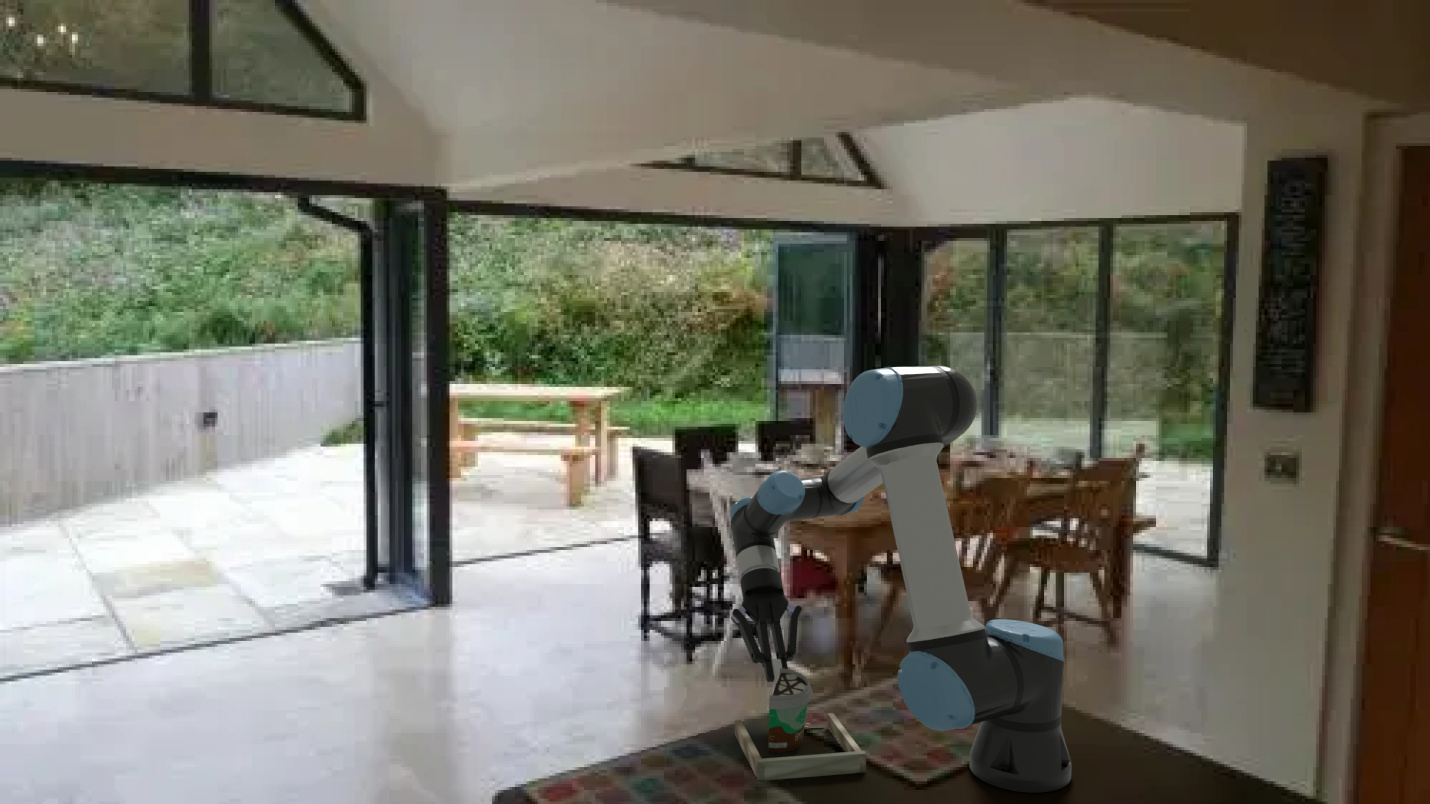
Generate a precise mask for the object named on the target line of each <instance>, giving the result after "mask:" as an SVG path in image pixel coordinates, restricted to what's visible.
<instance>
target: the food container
mask: <svg viewBox="0 0 1430 804" xmlns="http://www.w3.org/2000/svg"><path fill="white" fill-rule="evenodd" d="M810 683H811V682H810V681H809V679H808V678H807V676H805V675H804V674H802V673H800V672H797V671H795V670H791V669H789V668H788V669H783V668H780V676H779V679H778V681H777V683H776V686H775V689H773V693H772V694H770V695H769V700H768V701H769V702H768V712H769V713H768V715H769V717H768V719H769V720H768V747H767V748H768V749H767V751H768V752H769V753H785V752H790V751H794V750H796V749H798V748H800V747H801V746H802V745H803V742H804V741H803V740H804V734H805V733H804V732H805V730H804V727H805V718H807V717H806V716H807V710H808V709H807V707H808V703H809V702H811V700H812V698H813V692H812V686H811V684H810Z"/></svg>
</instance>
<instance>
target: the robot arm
mask: <svg viewBox="0 0 1430 804" xmlns="http://www.w3.org/2000/svg"><path fill="white" fill-rule="evenodd" d="M977 399H978V398H977V394H976V392H975V389H974V386H972V384H971V382H970V381H969V380H968V378H967V377H966V376H965V375H964V374H962V373H961V372H960V371H958V370H956V369H954V368H951V367H949V366H945V365H929V366H895V367H894V366H893V367H892V366H885V367H883V368H882V367H881V368H876V369H870V370H866V371H863V372H862V373H860V374H859V375H858V376H857V377H856V378H855V379H854V380H853V381H852V382H851V384H850V386H849V387H848V391H847V393H846V395H845V398H844V403H843V408H842V409H843V412H842V413H843V415H842V417H843V418H842V419H843V424H844V428H845V431H846V434H847V436H848V437H849V438H850V439H852V442H853V443H854V444H856V445H857V446H859V448H857V449H855V451H854V452H852V453H851V454H849V455H848V456H847V457H846V458H844V459H843V460H841V461H840V462H839V463H838V464H836V466H834V467H833V468H832V469H831V470H829V471H828V472H826V473H825V474H824V475H821V476H813V477H803V478H799V476H797V475H796V474H794V473H792V472H788V471H786V470H777V471H774V472H772V473H771V474H770V475H768V477H767V478H766V480H764V481H763V482H762V483H761V484H760V486H759V487H758V489H757V490H756V492H755V494H754V495H753V496H748V497H747V496H746V497H744V498H741V499H739V501H736V502H734V503H733V504H732V505H731V507H730V509H729V517H730V520H729V521H730V522H729V524H730V525H729V526H730V530H731V534H732V535H731V536H732V539H733V541H732V542H733V545H734V551H735V558H736V562H737V570H738V576H739V577H738V578H739V579H740V580H739V583H740V589H741V590H740V591H741V595H742V603H741V606H740V607H738V608H734V609H733V610H732V613H731V615H730V620H731V621H732V622H733V624H735V625H736V626H737V628H738V629H739V630H738V631H739V632H740V636H741V637H742V639H743V643H744V644H745V645H744V646H746V649H747V651H748V653H749V655H750V659H751V661H752V663H754V664H758V663H759V664H761V666H762V668H764V674H765V680H766V681H767V683H772V688H773V690H774V689H775V686H776V683H777V681H778V679H779V676H780V668H783V669H789V666H788V662H792V661H793V660H794V659H795V656H796V652H797V640H798V639H797V637H798V624H799V623H798V622H799V617H800V616H801V613H802V610H803V608H802V606H801V605H796V606H795V605H792V604H790V603H789V602H790V601H789V600H788V598H787V597H786V596H785V590H784V586H783V579H782V574H781V573H780V572H781V570H780V565H779V560H778V559H779V558H778V555H777V549H776V544H775V535H776V534H777V533H778V532H779V531H780V530H781V528H782V527H784V525H785V524H786V523H788V522H795V521H802V520H810V519H817V518H826V517H833V516H844V515H848V514H850V513H851V514H852V513H855V512H858V511H859V510H860V508H861V507H862V504H863V503H864V500H865V496H866V495H868V494H869V493H871V492H872V491H874V490H876V488H878V487H879V486H880V485H882V484H883V488H884V492H885V498H886V502H887V506H888V512H889V515H890V516H889V517H890V521H891V524H892V525H891V526H892V530H893V536H894V539H895V544H896V548H897V553H898V559H899V563H900V567H901V572H902V573H901V574H902V577H903V582H904V587H905V591H906V596H907V600H908V604H909V609H910V614H911V619H912V624H913V627H912V631H911V632H910V633H909V635H908V636H907V638H906V643H907V645H906V646H907V649H908V650H907V651H908V654H906V656H904V657H903V659H901V661H900V664H899V668H900V669H898V670H897V671H898V672H897V683H898V688H899V691H900V694H901V697H902V701H903V703H904V704H905V706H906V707H907V709H908V710H909V712H910V713H911V714H912V716H913V717H914V718H917V720H918V722H919V723H920V724H922V725H924V726H925V727H926V728H929V729H931V730H933V731H939V732H946V731H952V730H958V729H959V730H964V729H966V728H968V727H970V726H971V725H975V724H978V723H979V724H980V725H979V727H978V730H977V731H976V732H977V733H976V735H975V737H974V739H973V743H972V746H971V748H970V751H969V769H970V771H971V772H972V774H973V775H974V776H975V777H976V778H978V779H979V780H980V781H982V782H984V783H987V784H989V785H991V786H994V787H996V788H1000V789H1003V790H1007V791H1012V792H1019V793H1033V794H1034V793H1035V794H1036V793H1037V794H1039V793H1048V792H1054V791H1057V790H1061V789H1063V788H1064V787H1066V786H1067V785H1068V784H1069V783H1070V782H1071V779H1072V762H1071V761H1072V760H1071V757H1070V753H1069V750H1068V748H1067V747H1068V746H1067V744H1066V741H1065V737H1064V734H1063V730H1062V707H1063V705H1062V704H1063V687H1064V686H1063V685H1064V668H1065V667H1064V664H1065V662H1066V661H1065V660H1066V659H1065V657H1064V641H1063V638H1062V636H1061V635H1060V634H1059V633H1058V632H1057V631H1055V630H1053V629H1052V628H1049V627H1046V626H1043V625H1041V624H1040V625H1039V624H1036V623H1032V622H1029V621H1023V620H1017V619H1016V620H1015V619H1005V618H1003V619H998V618H997V619H991V620H989V621H987V622H986V624H985V625H984V624H983V623H981V622H980V621H978V620H977V619H975V618H974V617H973V615H972V613H971V609H970V608H971V607H970V604H969V599H968V594H967V590H966V586H965V581H964V578H963V573H962V568H961V563H960V561H959V560H960V559H959V554H958V549H957V546H956V542H955V538H954V532H953V528H952V522H951V518H950V515H949V514H950V513H949V511H948V506H947V502H946V501H947V500H946V496H945V493H944V492H945V491H944V488H943V483H942V479H941V474H940V470H939V466H938V462H937V460H938V456H939V454H940V453H941V452H942V449H943V448H945V447H947V446H948V445H950V444H951V443H953V442H955V441H956V440H957V439H958V438H960V437H961V436H962V435H963V434H965V433H966V432H967V431H968V429H969V428H970V427H971V426H972V424H973V422H974V421H975V418H976V415H977V412H978V400H977ZM785 612H787V617H788V619H789V623H788V631H787V642H786V643H787V645H785V641H784V636H783V630H782V625H781V622H782V620H781V619H782V618H783V616H784V614H785ZM747 617H749V618H750V620H751V621H753V622H754V623H755V628H756V632H757V637H758V643H759V645H758V643H757V641H756V639H755V636H754V633H753V631H752V629H751V627H750V626H751V625H749V622H748V619H747ZM767 625H769V628H770V631H771V635H772V636H771V637H772V641H773V645H774V651H775V657H776V659H772V658H773V657H772V650H771V645H770V644H771V643H770V639H769V631H768V627H767ZM786 646H787V647H786Z"/></svg>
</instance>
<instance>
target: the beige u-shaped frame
mask: <svg viewBox="0 0 1430 804" xmlns="http://www.w3.org/2000/svg"><path fill="white" fill-rule="evenodd" d="M826 719H827V721H826V724H827V725H828V727H829V728H830V730H831V731H832V733H833V734H834V735H835V736H836V738H837V739H838V741H839V742H840V744H841V745H842V747H843V749H844V750H843V749H842V750H843V751H842V752H831V753H820V754H805V755H795V756H794V755H793V756H781V757H779V756H778V757H767V758H762V756H761V755H760V753H759V751H758V749H757V748H756V745H755V744H754V742H753V740H752V738H751V736H750V734H749V732H748V730H747V728H746V727H745V725H744V723H743V721H742V720H741V719H736V720H734V735H735V738H736V740H737V741H738V744H739V745H740V748H741V750H742V752H743V754H744V756H745V757H746V759H747V761H748V763H749V766H750V768H751V769H752V771H753V773H754V775H755V777H756V779H757V781H758V780H764V781H773V780H775V781H776V780H785V779H797V778H810V777H811V778H812V777H823V776H836V775H847V774H850V775H851V774H858V773H859V774H861V773H866V772H867V753H866V751H865V750H861V748H860V746H859V745H858V744H857V743H856V742H855V740H854V738H852V736H851V734H850V733H849V732H848V731H847V729H846V728H845V727H844V725H842V723H841V722H840V720H839V719H838V717H837V716H836V715H835V713H833V712H831V713H827V717H826ZM844 751H845V752H844Z"/></svg>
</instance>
